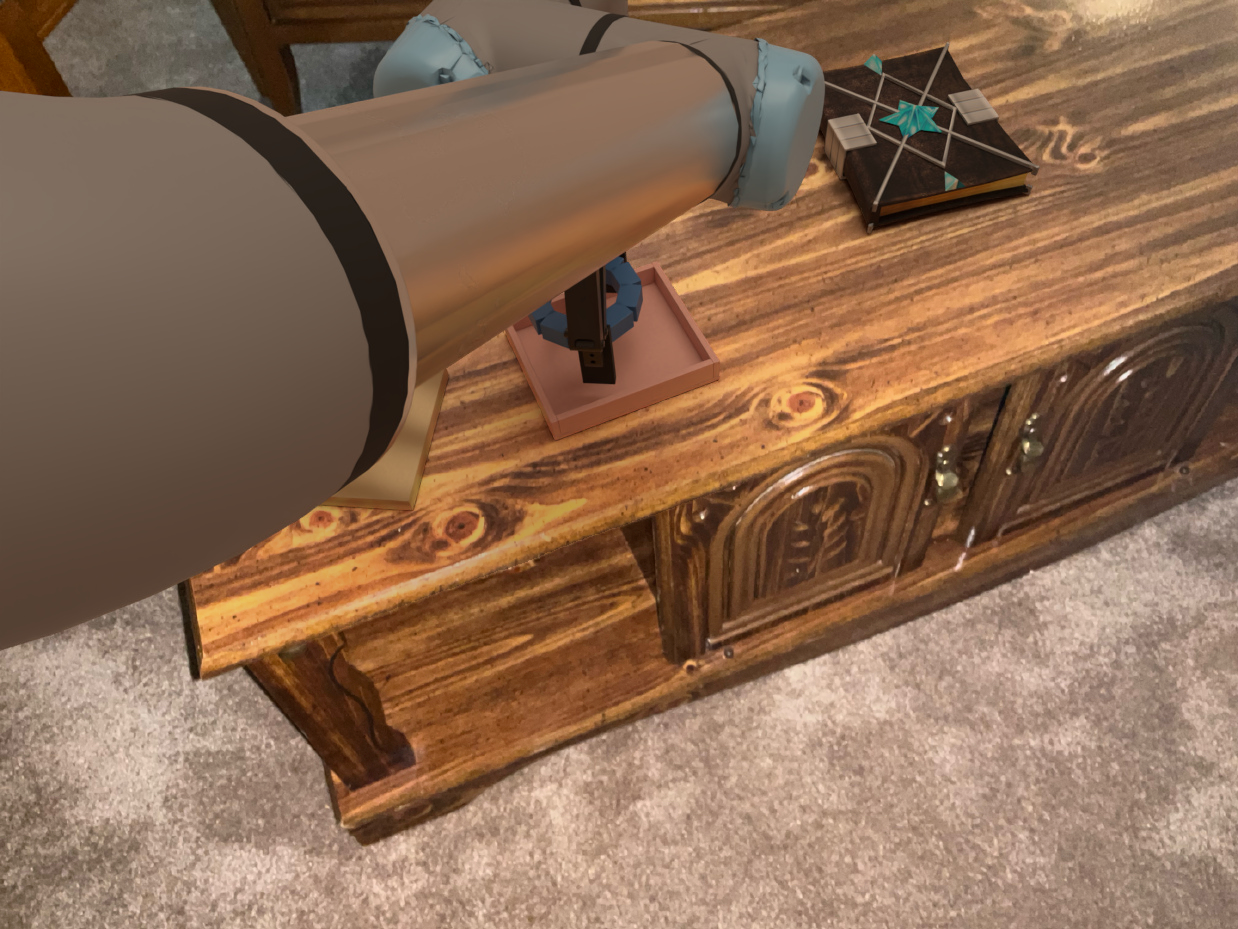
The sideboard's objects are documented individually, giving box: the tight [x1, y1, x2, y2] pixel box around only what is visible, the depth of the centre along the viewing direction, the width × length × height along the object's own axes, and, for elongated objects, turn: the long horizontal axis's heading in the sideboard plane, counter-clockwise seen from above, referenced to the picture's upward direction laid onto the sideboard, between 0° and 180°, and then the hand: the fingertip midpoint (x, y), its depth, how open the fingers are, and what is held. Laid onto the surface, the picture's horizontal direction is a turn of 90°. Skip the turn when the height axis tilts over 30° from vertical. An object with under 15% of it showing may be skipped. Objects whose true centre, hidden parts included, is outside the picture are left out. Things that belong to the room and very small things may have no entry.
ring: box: [528, 256, 643, 349], centre depth 79 cm, size 9×10×2 cm
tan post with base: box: [319, 368, 450, 511], centre depth 70 cm, size 14×14×30 cm
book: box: [819, 41, 1041, 234], centre depth 95 cm, size 22×17×5 cm
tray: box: [504, 260, 721, 441], centre depth 84 cm, size 15×13×2 cm
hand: (607, 333), depth 83 cm, fingers closed on ring, 9 cm apart
